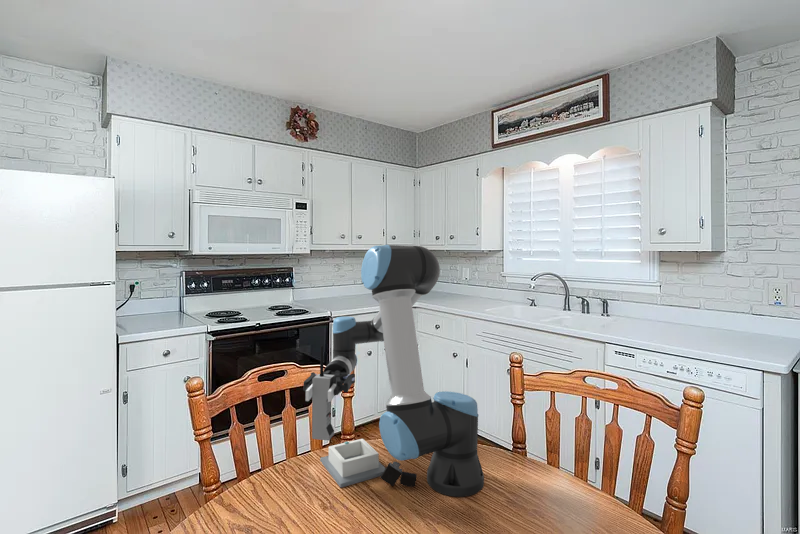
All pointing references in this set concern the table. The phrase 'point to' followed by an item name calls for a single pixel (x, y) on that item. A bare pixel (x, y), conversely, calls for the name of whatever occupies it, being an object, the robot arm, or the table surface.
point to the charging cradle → (352, 462)
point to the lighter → (398, 475)
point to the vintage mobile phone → (321, 405)
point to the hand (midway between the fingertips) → (318, 396)
